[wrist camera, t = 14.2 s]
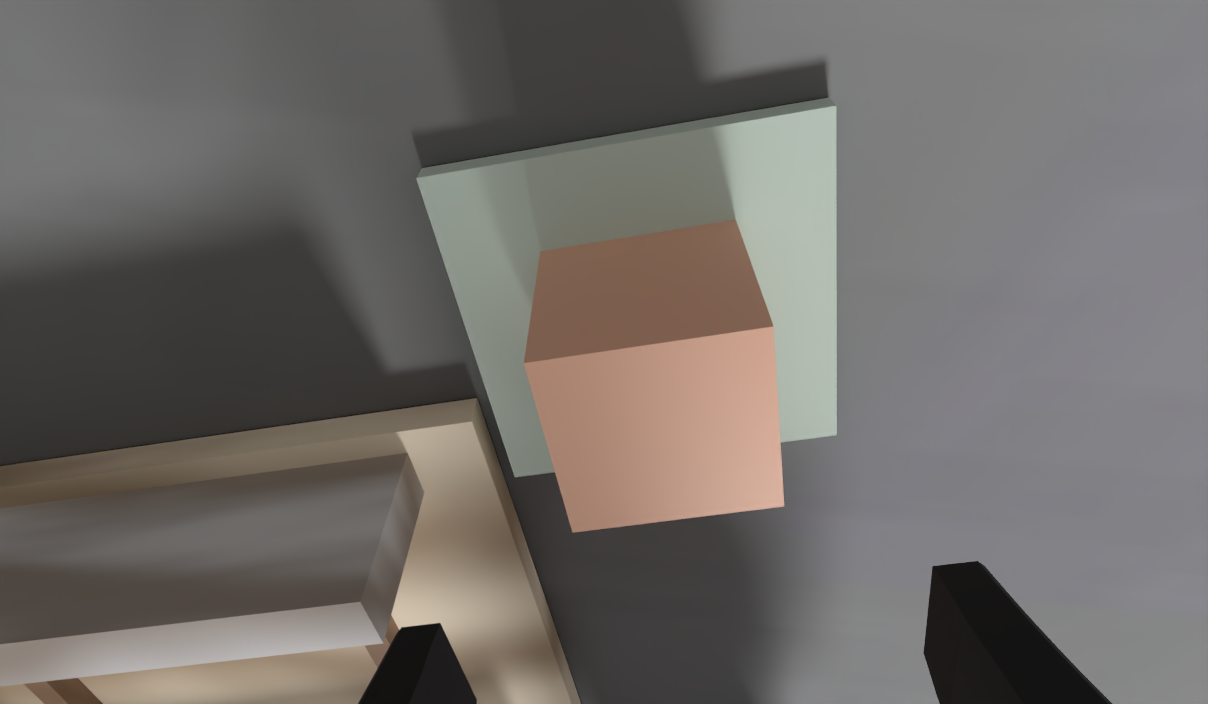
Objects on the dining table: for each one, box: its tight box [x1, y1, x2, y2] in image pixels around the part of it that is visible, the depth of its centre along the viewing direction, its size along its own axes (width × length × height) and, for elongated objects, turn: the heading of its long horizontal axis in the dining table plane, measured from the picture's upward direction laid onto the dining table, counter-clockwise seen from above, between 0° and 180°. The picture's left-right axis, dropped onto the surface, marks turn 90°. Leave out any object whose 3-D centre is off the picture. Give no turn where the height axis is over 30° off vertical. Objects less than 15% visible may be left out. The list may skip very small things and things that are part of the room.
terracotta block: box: [524, 220, 784, 533], centre depth 17 cm, size 4×4×4 cm
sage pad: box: [416, 98, 837, 477], centre depth 19 cm, size 9×9×1 cm
